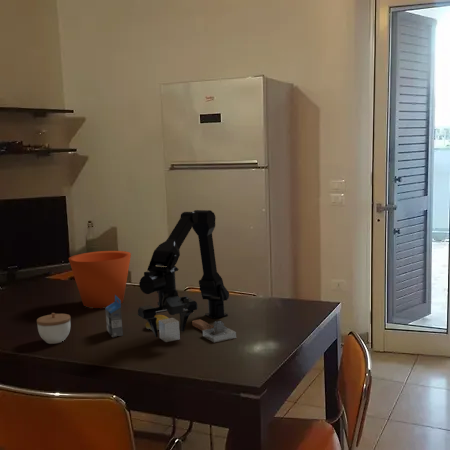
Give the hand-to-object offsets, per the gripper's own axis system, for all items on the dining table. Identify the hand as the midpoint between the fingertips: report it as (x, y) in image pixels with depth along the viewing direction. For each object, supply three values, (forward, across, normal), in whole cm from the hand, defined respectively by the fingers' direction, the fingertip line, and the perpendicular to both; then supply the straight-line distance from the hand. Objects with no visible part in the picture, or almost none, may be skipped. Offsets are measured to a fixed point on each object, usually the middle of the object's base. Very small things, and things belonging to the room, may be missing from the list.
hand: (169, 334), depth 190 cm
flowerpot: (+2, -4, +60) cm, 60 cm away
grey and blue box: (+2, -13, +17) cm, 21 cm away
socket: (+2, 0, 0) cm, 2 cm away
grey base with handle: (+2, +14, -2) cm, 14 cm away
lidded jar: (+2, -32, +21) cm, 38 cm away
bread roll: (+2, +2, +15) cm, 15 cm away
